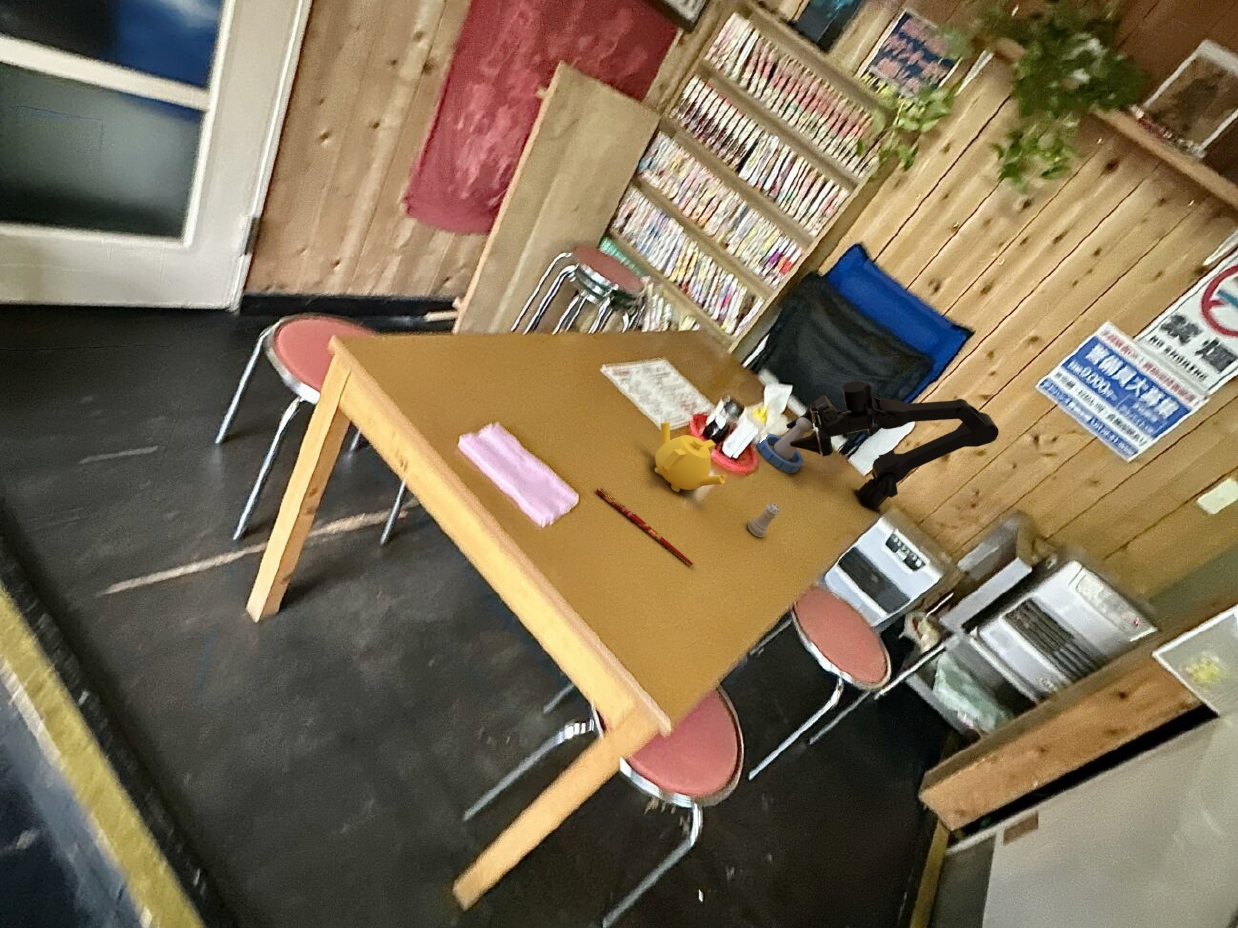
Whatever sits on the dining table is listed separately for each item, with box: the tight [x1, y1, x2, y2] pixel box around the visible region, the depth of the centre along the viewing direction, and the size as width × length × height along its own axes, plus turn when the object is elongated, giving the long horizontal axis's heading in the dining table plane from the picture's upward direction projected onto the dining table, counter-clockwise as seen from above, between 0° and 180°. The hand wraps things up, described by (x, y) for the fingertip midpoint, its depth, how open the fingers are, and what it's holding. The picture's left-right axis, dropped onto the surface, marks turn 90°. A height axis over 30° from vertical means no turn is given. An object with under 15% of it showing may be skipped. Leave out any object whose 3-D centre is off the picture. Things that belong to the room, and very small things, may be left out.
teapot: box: [654, 422, 726, 493], centre depth 165 cm, size 20×18×11 cm
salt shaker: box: [772, 416, 813, 461], centre depth 199 cm, size 6×6×13 cm
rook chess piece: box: [747, 502, 781, 538], centre depth 166 cm, size 4×4×8 cm
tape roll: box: [757, 433, 804, 474], centre depth 202 cm, size 13×13×2 cm
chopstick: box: [595, 488, 694, 566], centre depth 148 cm, size 2×24×1 cm, turn 61°
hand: (788, 435), depth 199 cm, fingers open, 9 cm apart
